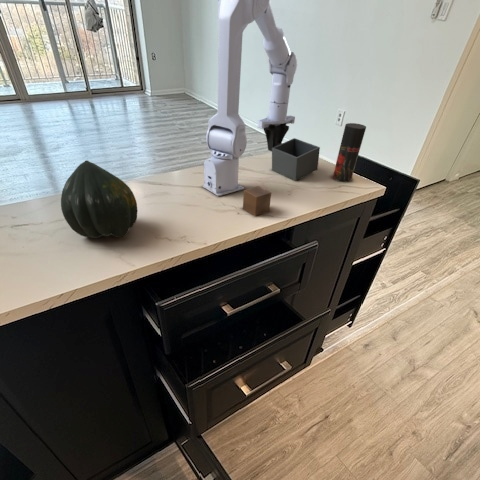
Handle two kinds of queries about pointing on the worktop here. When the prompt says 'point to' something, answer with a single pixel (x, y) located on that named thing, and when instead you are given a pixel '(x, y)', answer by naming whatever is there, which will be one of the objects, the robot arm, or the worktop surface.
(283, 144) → the basket
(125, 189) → the squash
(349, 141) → the deodorant
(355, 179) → the worktop surface
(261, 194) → the block
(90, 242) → the worktop surface
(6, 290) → the worktop surface
